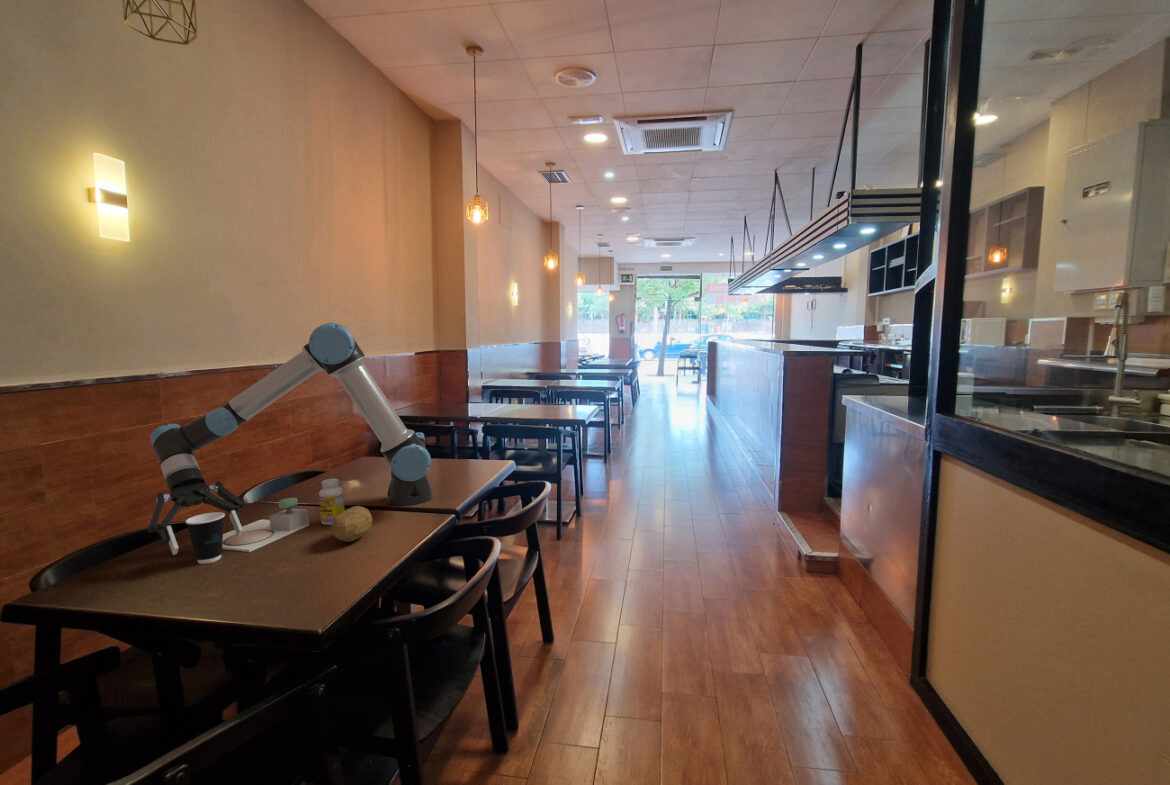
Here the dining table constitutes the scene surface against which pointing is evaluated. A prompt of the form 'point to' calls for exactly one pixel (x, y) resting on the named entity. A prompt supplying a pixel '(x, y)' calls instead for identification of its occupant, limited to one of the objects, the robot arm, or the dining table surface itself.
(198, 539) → the dixie cup
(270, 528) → the grey base with block
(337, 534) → the potato
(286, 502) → the button
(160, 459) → the robot arm
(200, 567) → the dining table surface
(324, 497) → the supplement bottle
